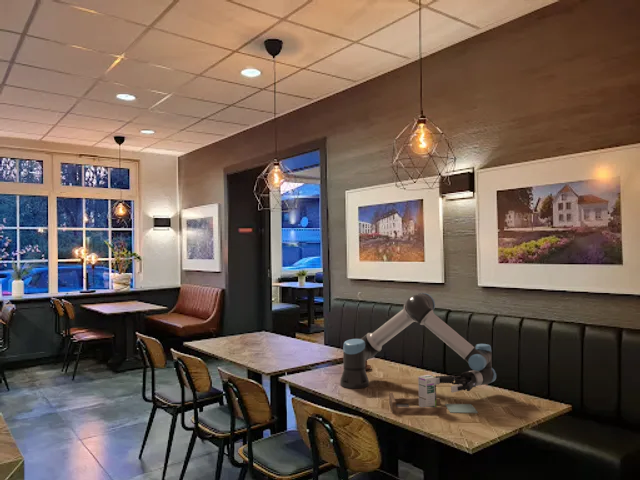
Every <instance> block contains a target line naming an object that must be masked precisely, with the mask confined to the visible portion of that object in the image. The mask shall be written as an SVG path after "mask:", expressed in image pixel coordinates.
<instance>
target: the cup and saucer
mask: <svg viewBox="0 0 640 480" xmlns="http://www.w3.org/2000/svg"><path fill="white" fill-rule="evenodd" d="M371 368H372V365H369V364H368V360H366V361H365V371H368V370H370V369H371Z"/></svg>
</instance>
